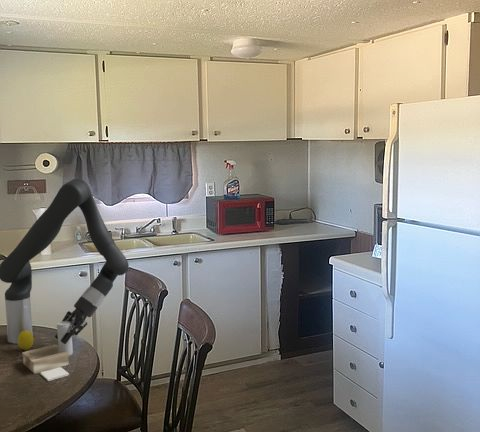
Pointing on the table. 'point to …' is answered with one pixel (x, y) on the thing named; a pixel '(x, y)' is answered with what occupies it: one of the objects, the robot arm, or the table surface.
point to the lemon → (25, 340)
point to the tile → (54, 373)
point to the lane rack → (44, 359)
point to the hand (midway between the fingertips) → (59, 340)
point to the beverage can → (61, 331)
